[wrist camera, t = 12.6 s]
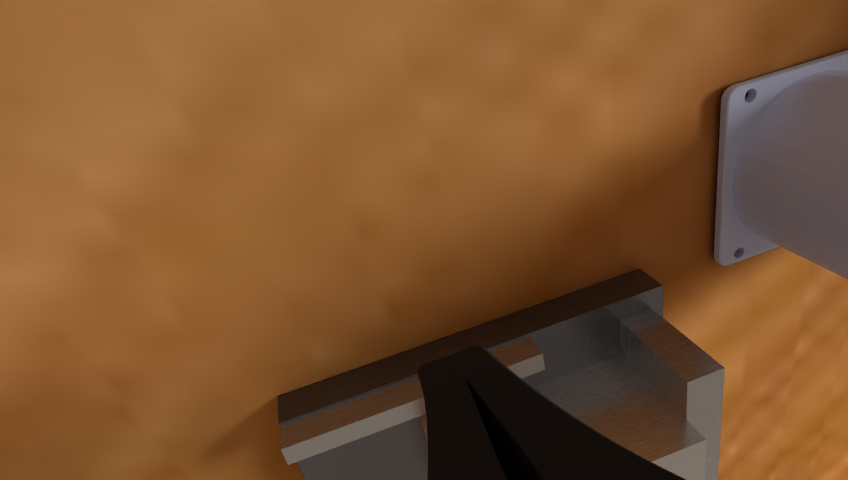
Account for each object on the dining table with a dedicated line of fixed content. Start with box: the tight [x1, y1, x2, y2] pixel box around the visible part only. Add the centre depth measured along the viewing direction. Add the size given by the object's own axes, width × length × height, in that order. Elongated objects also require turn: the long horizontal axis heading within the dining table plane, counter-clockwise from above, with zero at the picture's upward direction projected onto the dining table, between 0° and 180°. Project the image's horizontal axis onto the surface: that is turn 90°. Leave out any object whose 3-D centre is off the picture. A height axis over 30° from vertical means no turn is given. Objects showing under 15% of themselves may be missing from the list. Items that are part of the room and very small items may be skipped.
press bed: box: [278, 269, 725, 480], centre depth 22 cm, size 16×10×6 cm, turn 103°
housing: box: [533, 354, 706, 480], centre depth 21 cm, size 5×4×6 cm
